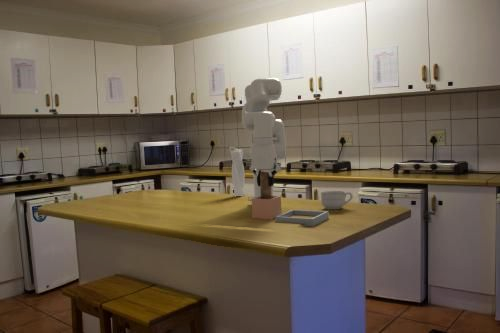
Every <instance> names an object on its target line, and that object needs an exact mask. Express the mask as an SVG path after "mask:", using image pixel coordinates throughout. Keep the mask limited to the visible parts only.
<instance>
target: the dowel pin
mask: <svg viewBox="0 0 500 333" xmlns="http://www.w3.org/2000/svg"><path fill="white" fill-rule="evenodd" d="M268 177H269V172H268V171H263V172H260V189H261V199H271V198H272V193H271V186H269V183H268Z"/></svg>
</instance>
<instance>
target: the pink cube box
mask: <svg viewBox="0 0 500 333" xmlns="http://www.w3.org/2000/svg"><path fill="white" fill-rule="evenodd" d="M282 212H283V211H282V196H281V195H274V196H272V198H271V199H261V196H259V197H256V198H252V201H251V215H252V219H262V220H275V217H276V216H278V215H281V214H283V213H282Z"/></svg>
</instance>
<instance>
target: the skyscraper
mask: <svg viewBox="0 0 500 333" xmlns="http://www.w3.org/2000/svg"><path fill="white" fill-rule="evenodd" d="M232 149H234V150H232ZM229 151H230V155H231V160H232V164H231V180H232V186H233V187H232V188H233V192H234V193H233V197H236V196H241V197H245V196H246V194H245V193H244V189H245V183H246V182H245V181H246V180H245V178H246V177H245V176H246V175H245V167H244V161H243V158H244V157H243V156H244V149H241V148H236V147H234V146H230V147H229ZM236 198H237V197H236Z"/></svg>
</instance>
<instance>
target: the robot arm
mask: <svg viewBox="0 0 500 333" xmlns="http://www.w3.org/2000/svg"><path fill="white" fill-rule="evenodd" d="M250 83H251V84H249V85H247V86H245V88H244V98H245V103H244V105H243V106H242V108H241V109H242V110H241V124H242V127H243V128H244V129H245V130H246V131H251V132H252V135H253V136H252V137H253V139H252V140H251V142H252V143H251V144H250V147H249V150H250V156H251V164H250V166H249V170H250V171H251V172H253V173H252V174H253V175H252V177H253V196H248V198H247V201H248V202H252V198H256V197H259V196H261V189H260V172H263V171H268V172H269V177H268V183H269V186H271V193H272V196H275V192H274V184H275V175H277V173H278V172H279V171H280V170H281V169H282V167H281V166H280V164H279V163H278V161H279V160H284V159H285V158H286V157H287V152H288V151H287V140H286V129H285V123H284V121H283V120H282V119H280V118H279V119H278V118H277V119H276V115H275V114H274V113H273V112H272V111H269V110H268V109H267V108H268V107H269V106H270V104H271V102H273V101H278V100H279V99H280V98H281V95H282V91H283V90H282V87H283V86H282V82H281V80H279V78H277V77H269V78H267V77H266V78H257V79H254V80H252V81H251V82H250Z"/></svg>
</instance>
